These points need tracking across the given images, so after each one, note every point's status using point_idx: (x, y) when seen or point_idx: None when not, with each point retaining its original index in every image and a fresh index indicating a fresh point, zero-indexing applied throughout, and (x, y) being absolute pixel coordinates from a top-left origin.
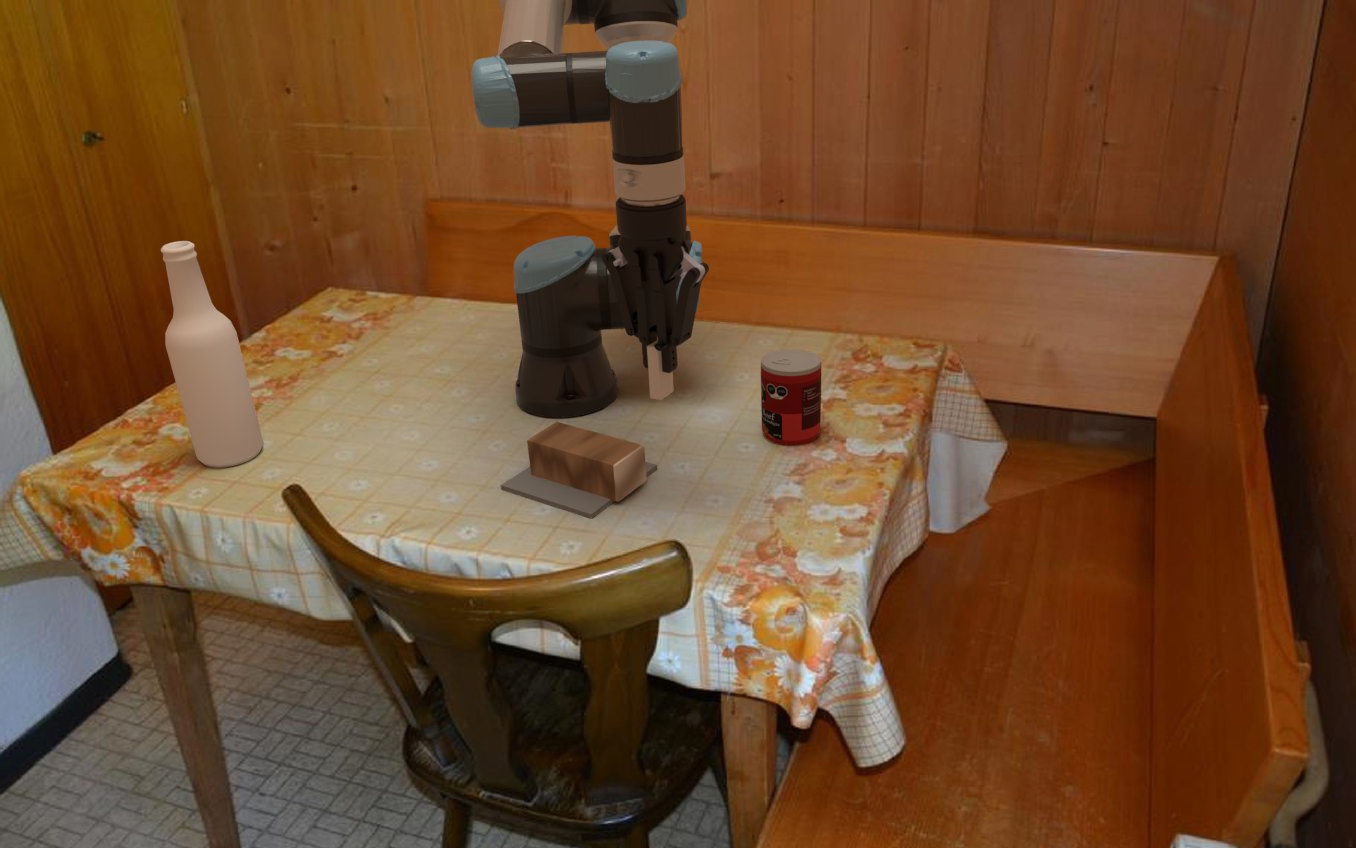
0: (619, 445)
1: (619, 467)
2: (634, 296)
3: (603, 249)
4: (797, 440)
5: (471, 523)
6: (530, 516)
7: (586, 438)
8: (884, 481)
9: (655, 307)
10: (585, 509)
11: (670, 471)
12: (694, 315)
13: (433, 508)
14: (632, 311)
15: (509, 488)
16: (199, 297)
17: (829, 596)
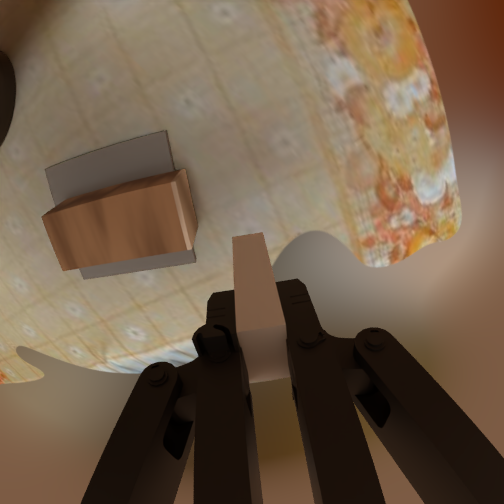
0: (147, 205)
1: (190, 239)
2: (145, 499)
3: None
4: None
5: (124, 324)
6: (147, 291)
7: (99, 221)
8: (410, 16)
9: (250, 463)
10: (182, 260)
11: (184, 122)
12: (446, 398)
13: (84, 326)
14: (176, 467)
15: (93, 277)
16: None
17: (449, 220)
